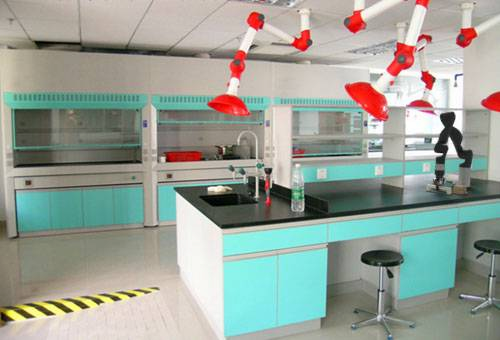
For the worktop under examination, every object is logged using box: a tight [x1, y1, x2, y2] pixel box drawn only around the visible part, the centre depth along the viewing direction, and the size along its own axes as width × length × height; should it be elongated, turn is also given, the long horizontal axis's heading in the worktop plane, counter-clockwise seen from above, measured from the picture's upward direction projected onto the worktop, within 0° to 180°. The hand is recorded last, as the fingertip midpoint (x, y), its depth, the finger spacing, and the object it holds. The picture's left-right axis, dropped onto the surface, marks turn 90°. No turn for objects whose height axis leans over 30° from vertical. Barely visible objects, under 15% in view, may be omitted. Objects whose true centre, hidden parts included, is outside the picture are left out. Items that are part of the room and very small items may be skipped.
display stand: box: [431, 179, 468, 195], centre depth 350 cm, size 8×27×9 cm, turn 33°
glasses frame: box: [425, 183, 452, 195], centre depth 346 cm, size 3×20×5 cm, turn 33°
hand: (438, 190), depth 346 cm, fingers closed on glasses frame, 3 cm apart
